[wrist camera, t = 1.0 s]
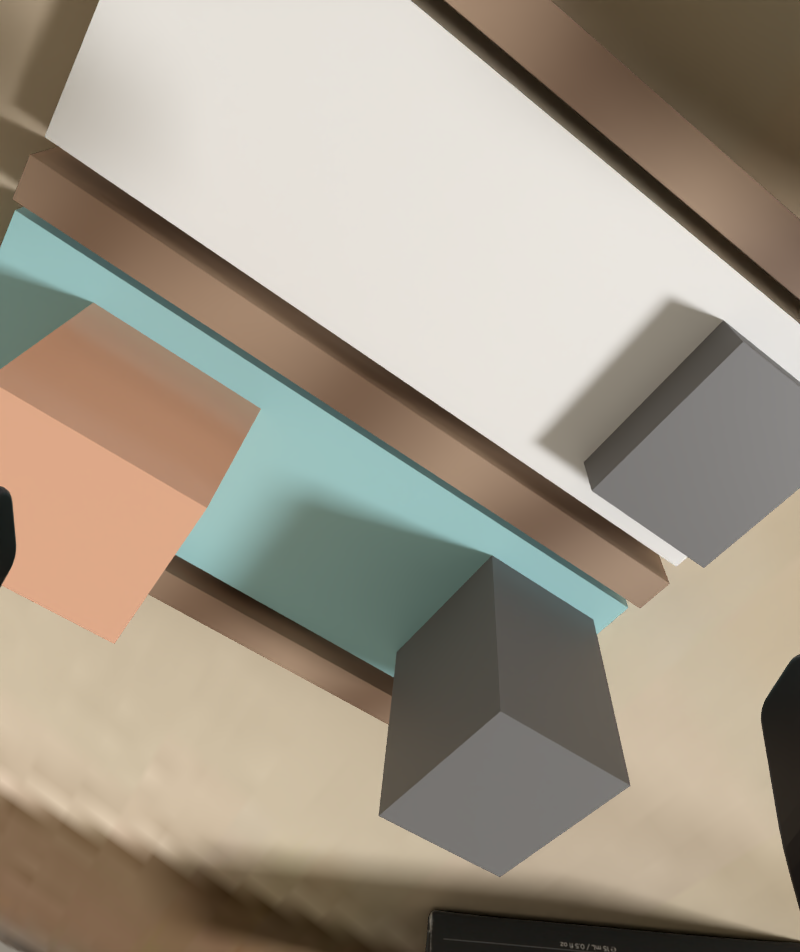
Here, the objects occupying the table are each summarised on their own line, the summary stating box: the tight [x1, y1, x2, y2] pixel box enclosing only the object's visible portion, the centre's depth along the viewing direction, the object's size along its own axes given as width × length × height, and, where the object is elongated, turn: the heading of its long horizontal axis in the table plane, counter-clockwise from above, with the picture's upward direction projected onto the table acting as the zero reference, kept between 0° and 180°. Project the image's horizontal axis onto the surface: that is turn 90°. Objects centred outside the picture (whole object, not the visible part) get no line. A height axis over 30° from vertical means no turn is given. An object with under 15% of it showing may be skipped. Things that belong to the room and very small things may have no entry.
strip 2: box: [0, 207, 630, 877], centre depth 20 cm, size 20×7×7 cm, turn 55°
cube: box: [0, 303, 261, 643], centre depth 19 cm, size 5×5×5 cm
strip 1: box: [45, 0, 800, 568], centre depth 18 cm, size 20×7×2 cm, turn 55°
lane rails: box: [12, 0, 800, 725], centre depth 20 cm, size 20×19×2 cm
